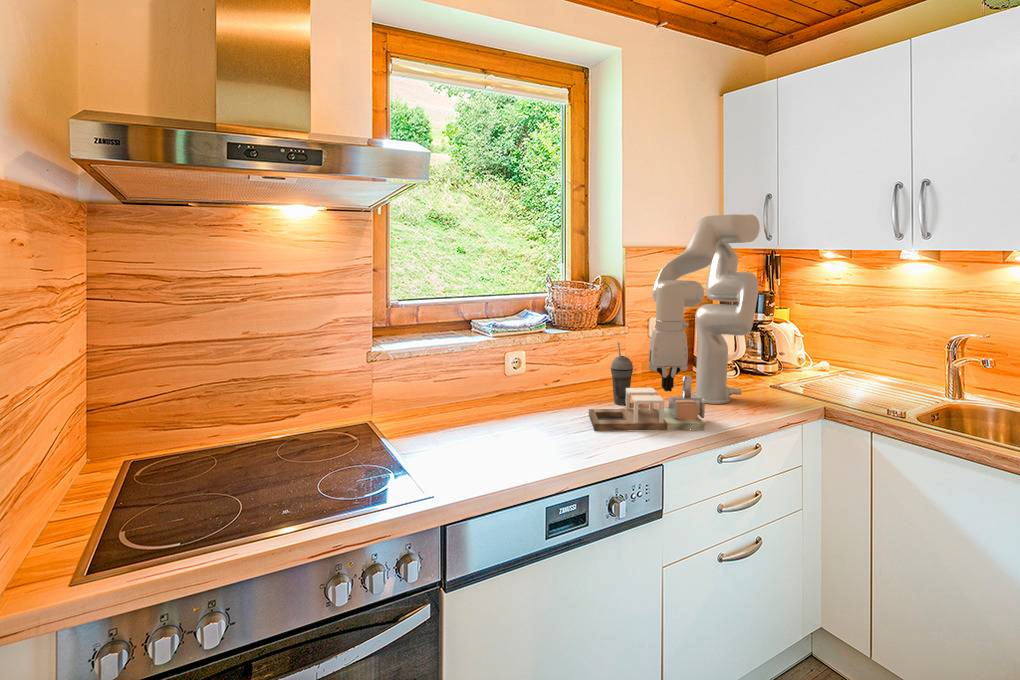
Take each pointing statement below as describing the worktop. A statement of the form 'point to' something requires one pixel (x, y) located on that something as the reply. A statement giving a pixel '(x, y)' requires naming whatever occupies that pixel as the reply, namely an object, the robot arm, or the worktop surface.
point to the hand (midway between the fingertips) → (667, 390)
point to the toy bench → (644, 401)
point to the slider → (686, 398)
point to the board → (639, 420)
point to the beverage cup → (621, 377)
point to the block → (687, 409)
